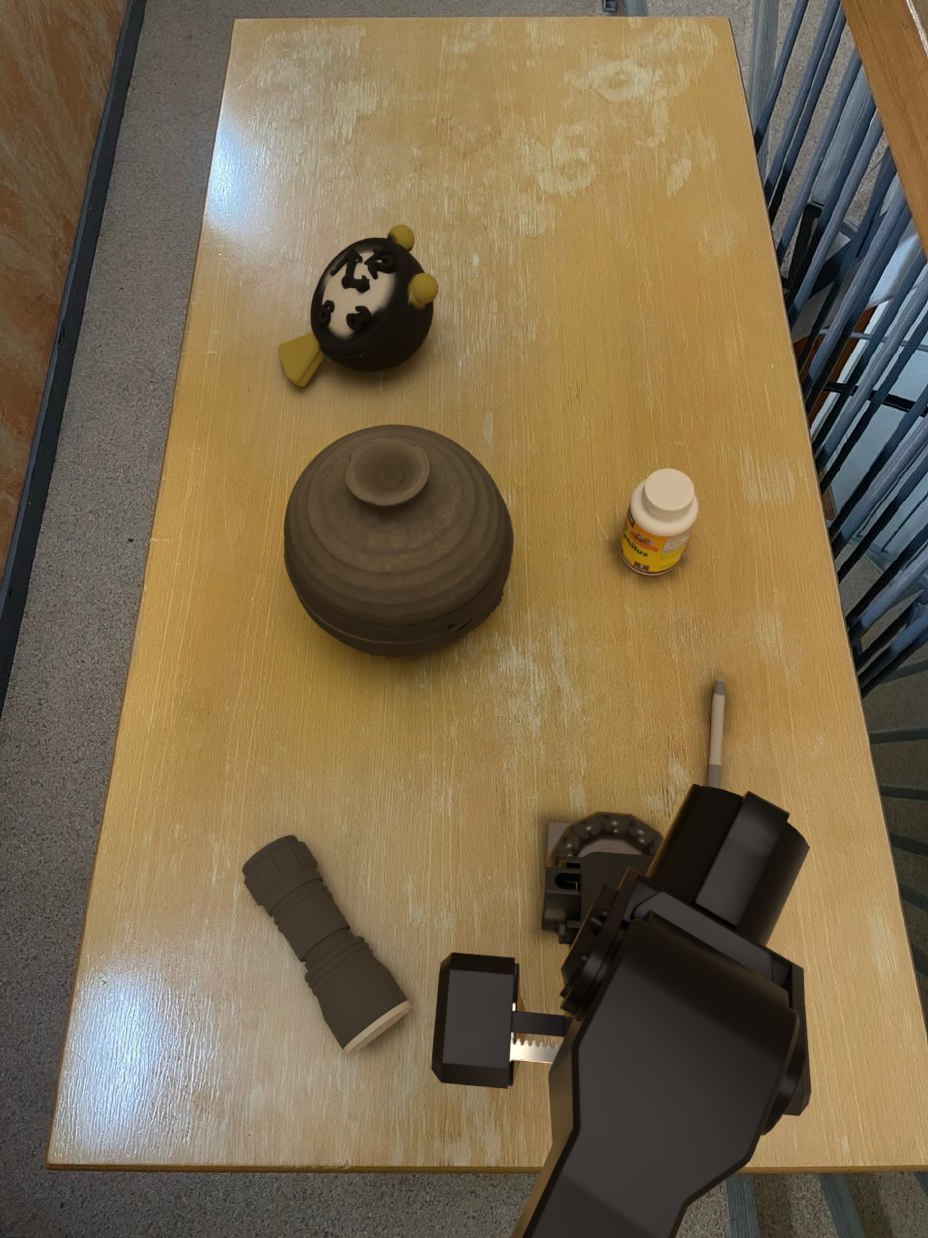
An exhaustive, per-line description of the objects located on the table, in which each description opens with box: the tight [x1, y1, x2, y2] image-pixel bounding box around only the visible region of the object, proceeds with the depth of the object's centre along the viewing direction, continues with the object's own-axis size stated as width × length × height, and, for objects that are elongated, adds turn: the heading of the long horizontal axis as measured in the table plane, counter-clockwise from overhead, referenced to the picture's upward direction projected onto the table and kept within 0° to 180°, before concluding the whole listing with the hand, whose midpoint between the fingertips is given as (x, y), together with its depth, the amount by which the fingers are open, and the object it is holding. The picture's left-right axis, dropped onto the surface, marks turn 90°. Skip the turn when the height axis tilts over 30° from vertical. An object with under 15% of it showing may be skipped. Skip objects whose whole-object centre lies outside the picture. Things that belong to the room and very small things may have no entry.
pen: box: [706, 676, 726, 789], centre depth 73 cm, size 1×14×1 cm, turn 171°
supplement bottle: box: [618, 467, 699, 576], centre depth 77 cm, size 6×6×10 cm
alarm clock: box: [277, 224, 440, 388], centre depth 88 cm, size 12×15×15 cm
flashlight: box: [241, 834, 412, 1057], centre depth 66 cm, size 15×5×5 cm, turn 36°
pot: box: [283, 423, 515, 659], centre depth 72 cm, size 18×18×20 cm
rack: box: [545, 820, 646, 884], centre depth 67 cm, size 8×8×8 cm
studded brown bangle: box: [549, 810, 665, 868], centre depth 68 cm, size 10×10×2 cm
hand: (598, 1034), depth 55 cm, fingers open, 9 cm apart
